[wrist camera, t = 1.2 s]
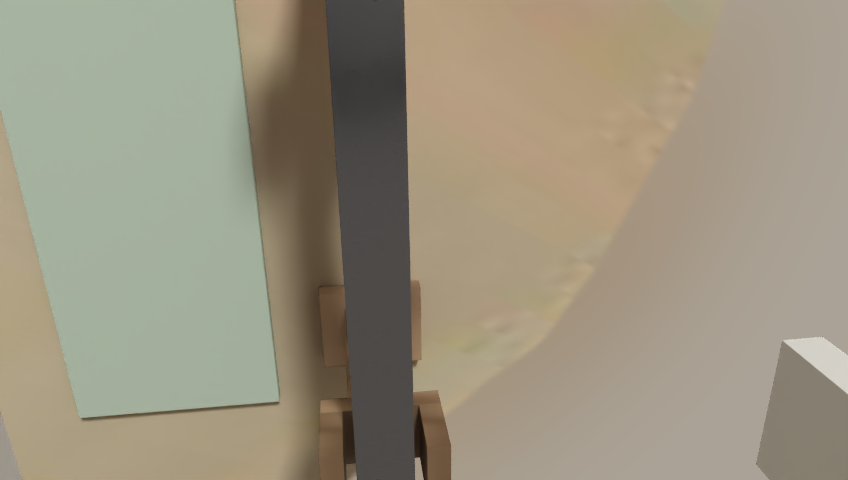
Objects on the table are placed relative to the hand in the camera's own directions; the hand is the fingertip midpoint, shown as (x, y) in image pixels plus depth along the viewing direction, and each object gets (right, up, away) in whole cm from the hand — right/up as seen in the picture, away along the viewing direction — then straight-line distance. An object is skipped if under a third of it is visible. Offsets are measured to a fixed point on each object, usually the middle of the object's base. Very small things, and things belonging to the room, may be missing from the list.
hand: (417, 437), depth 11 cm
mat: (-15, +9, +23) cm, 29 cm away
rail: (-2, +5, +15) cm, 16 cm away
